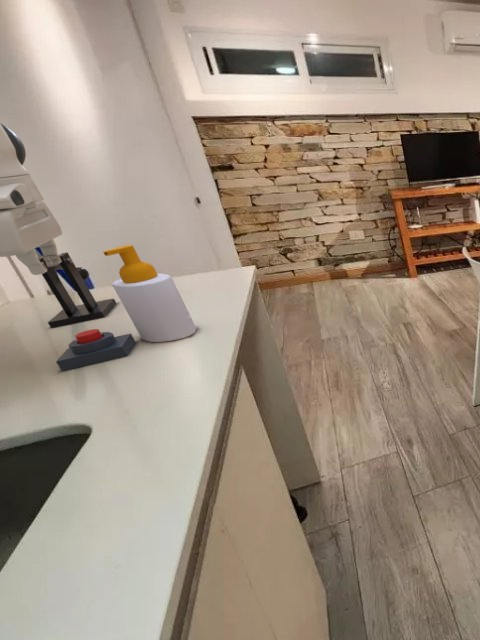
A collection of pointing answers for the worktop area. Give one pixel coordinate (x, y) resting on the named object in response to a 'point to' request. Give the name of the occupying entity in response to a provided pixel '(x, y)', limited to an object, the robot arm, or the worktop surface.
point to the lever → (82, 271)
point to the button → (88, 336)
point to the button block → (95, 351)
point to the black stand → (70, 311)
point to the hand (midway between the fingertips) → (48, 268)
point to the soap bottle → (151, 299)
